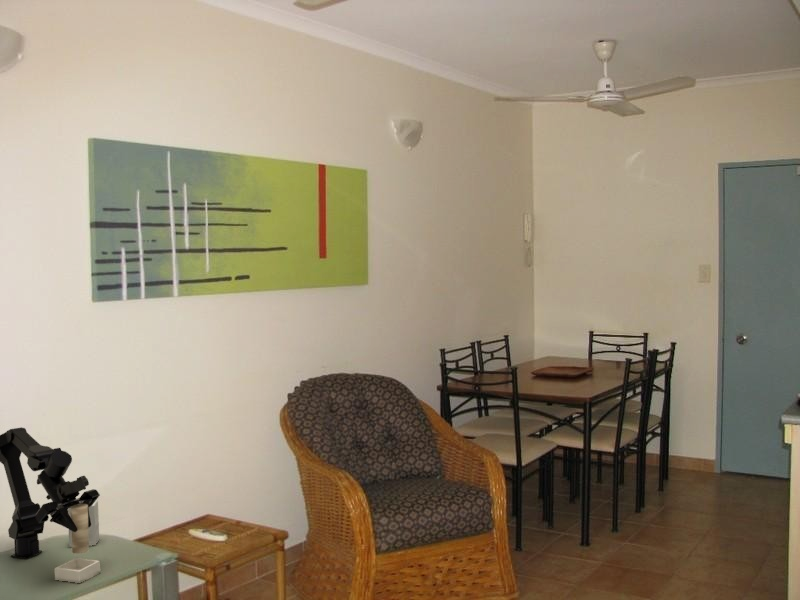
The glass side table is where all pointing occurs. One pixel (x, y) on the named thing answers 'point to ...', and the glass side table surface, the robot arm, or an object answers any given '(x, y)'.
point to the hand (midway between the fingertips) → (83, 528)
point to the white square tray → (77, 570)
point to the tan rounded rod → (80, 528)
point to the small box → (93, 528)
